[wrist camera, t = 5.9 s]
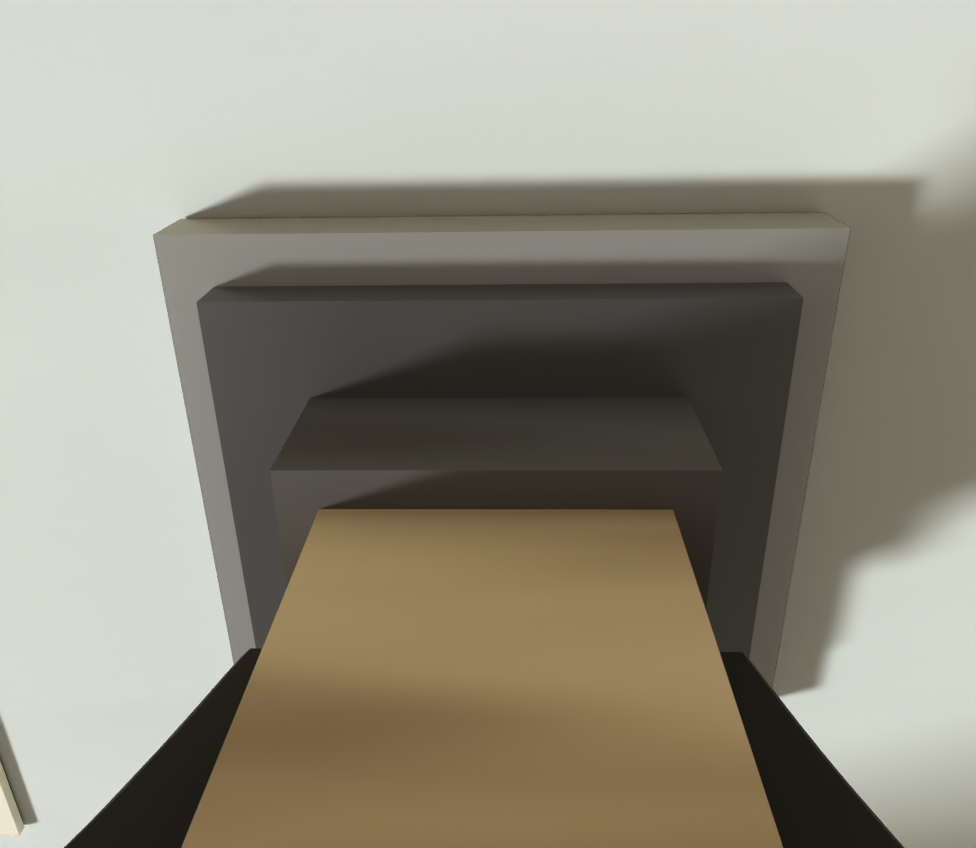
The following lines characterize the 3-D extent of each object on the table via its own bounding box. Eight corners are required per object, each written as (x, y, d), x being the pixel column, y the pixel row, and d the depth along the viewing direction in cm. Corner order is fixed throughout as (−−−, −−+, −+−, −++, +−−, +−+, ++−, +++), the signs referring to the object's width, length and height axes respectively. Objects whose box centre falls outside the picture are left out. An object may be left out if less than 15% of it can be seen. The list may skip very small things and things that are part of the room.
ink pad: (747, 706, 15) (772, 781, 14) (264, 701, 16) (236, 774, 14) (823, 212, 12) (870, 241, 10) (180, 218, 12) (131, 248, 10)
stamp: (660, 689, 13) (839, 1505, 6) (343, 686, 13) (138, 1476, 6) (688, 397, 11) (1023, 1116, 4) (309, 398, 11) (-73, 1087, 4)
